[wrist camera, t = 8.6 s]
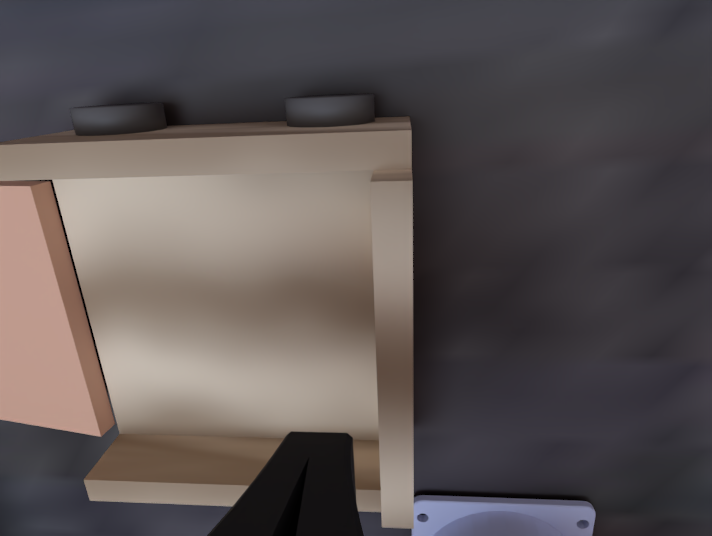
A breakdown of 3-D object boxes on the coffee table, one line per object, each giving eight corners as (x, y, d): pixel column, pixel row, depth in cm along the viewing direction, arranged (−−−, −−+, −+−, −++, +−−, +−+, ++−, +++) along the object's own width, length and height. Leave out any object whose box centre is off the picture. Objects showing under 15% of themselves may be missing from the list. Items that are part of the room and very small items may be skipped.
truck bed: (411, 443, 22) (413, 569, 16) (151, 436, 23) (70, 552, 17) (409, 91, 17) (412, 99, 11) (72, 106, 18) (-80, 120, 12)
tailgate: (30, 186, 16) (-105, 184, 18) (101, 436, 20) (-16, 416, 21) (50, 181, 17) (-81, 179, 18) (115, 423, 20) (1, 405, 22)
